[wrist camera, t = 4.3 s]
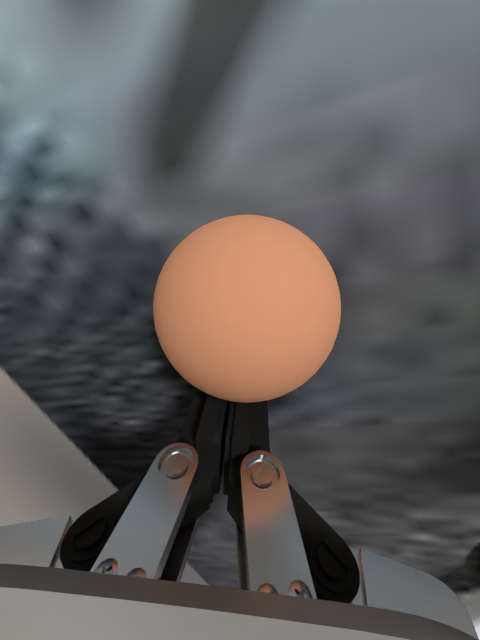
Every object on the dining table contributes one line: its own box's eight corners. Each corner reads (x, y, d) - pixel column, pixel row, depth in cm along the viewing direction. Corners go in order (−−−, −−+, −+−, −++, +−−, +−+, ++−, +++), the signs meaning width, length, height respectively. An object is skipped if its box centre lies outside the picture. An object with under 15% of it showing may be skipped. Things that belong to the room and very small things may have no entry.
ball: (311, 422, 9) (400, 407, 4) (165, 398, 10) (62, 355, 4) (314, 293, 12) (370, 174, 6) (198, 280, 12) (159, 161, 7)
